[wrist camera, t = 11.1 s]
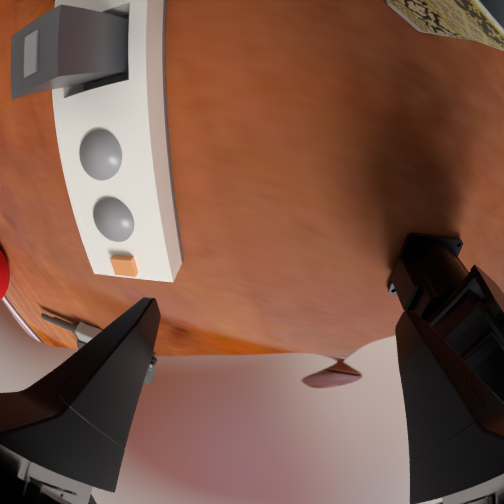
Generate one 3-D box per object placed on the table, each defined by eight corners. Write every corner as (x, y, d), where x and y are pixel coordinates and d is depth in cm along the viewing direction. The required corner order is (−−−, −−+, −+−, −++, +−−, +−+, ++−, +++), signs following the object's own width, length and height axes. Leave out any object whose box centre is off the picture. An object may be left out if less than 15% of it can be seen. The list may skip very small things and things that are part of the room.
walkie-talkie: (157, 342, 32) (44, 304, 32) (147, 370, 28) (30, 324, 28) (163, 373, 37) (61, 338, 37) (156, 397, 34) (50, 356, 33)
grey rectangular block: (136, 22, 12) (59, 4, 5) (136, 71, 14) (55, 76, 7) (91, 37, 12) (10, 36, 5) (91, 82, 14) (9, 100, 8)
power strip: (170, -45, 9) (150, -63, 6) (183, 259, 23) (171, 287, 20) (80, -13, 9) (53, -20, 6) (108, 254, 24) (91, 277, 21)
